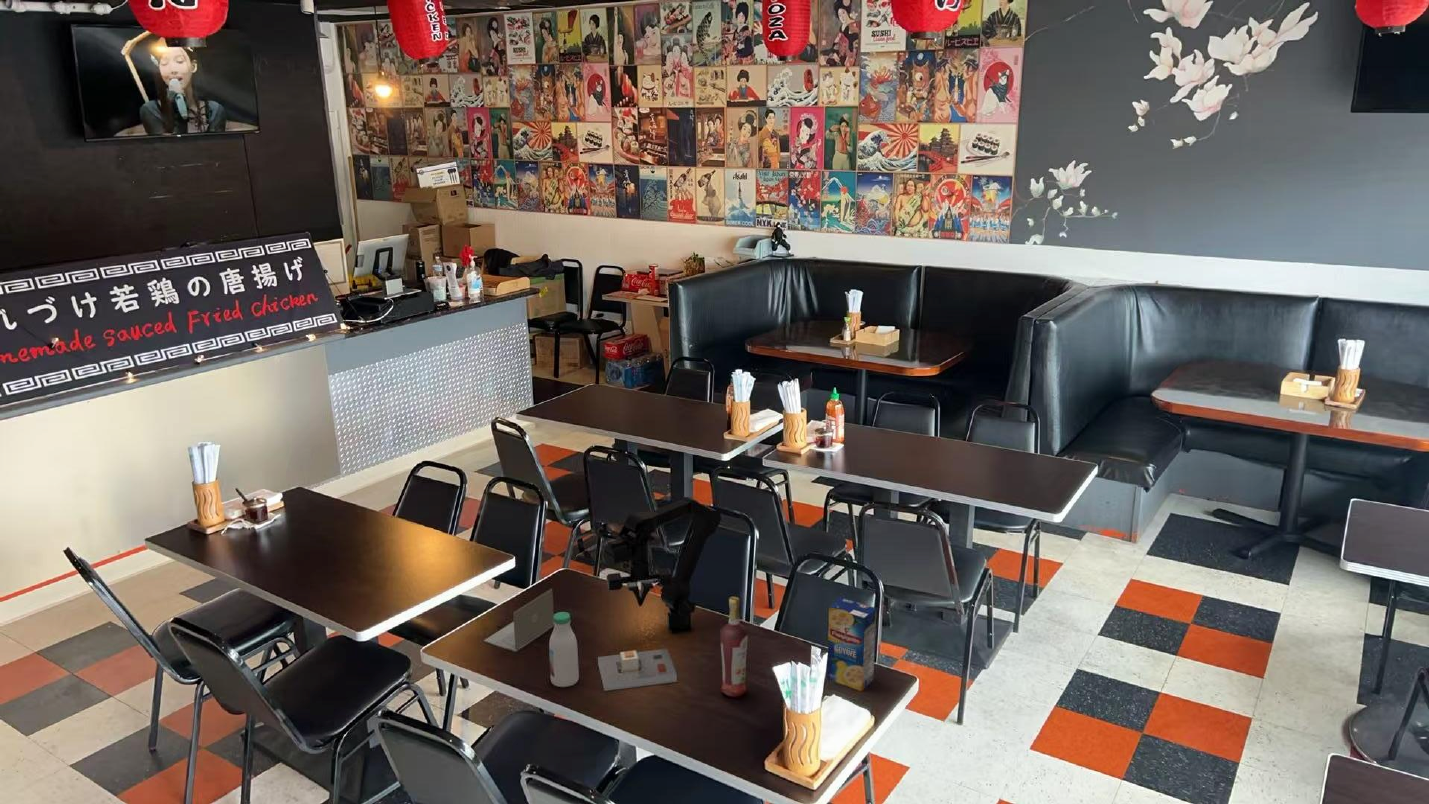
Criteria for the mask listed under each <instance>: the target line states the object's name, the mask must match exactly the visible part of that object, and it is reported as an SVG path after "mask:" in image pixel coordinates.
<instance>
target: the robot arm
mask: <svg viewBox="0 0 1429 804" xmlns="http://www.w3.org/2000/svg"><path fill="white" fill-rule="evenodd" d="M687 515H692V517H691V520H690V521H691V523H690V524H691V534H690V537H689V538H688V542H687V544H686V547H685V549H684V551H683V554H682V557H681V559H680V561H679V564H678V566H677V568H676V571H675V573H674V575H673V574H672V572H671V570H670V568H668V567H665V568H664V567H663V568H656V570H655V571H656V572H655V573H650V548H649V546H650V544H649V542H651V541H655V540H656V537H655V536H653V535H652V534H654V533H655V532H656V530H657V529H658V528H659V527H660V526H663V525H665V524H668V523H670V522H673V521H676V520H678V519H679V518H682V517H685V516H687ZM721 521H722V516H721V513H720V512H719V511H718V510H717V509H714V508H712V507H710V506H708V505H706V504H701V503H700V502H698V501H697V500H696V499H694V498H691V497H690V496H684V497H682V498H681V499H680V500H677V501H674V502H672V503H670V504H667V505H664V506H662V507H659V508H656V509H654V510H651V511H638V512H633V513H631V514H629V515H628V516H627V518H626V520H625V522H624V524H623V526H622V527H621V529H620V532H619V533H618V535H617V538H618V539H617V540H613V541H609V542H607V546H606V547H604V551H603V558H604V561H605V562H606V564H607V565H608V566H609V567H614V566H616V565H621V568H622V569H627V573H628V574H629V575H627V576H622V575H621V573H620V572H615V573H608V574H607V575H606V584H607V588H608V591H620V590H621V589H622V588H623V586H624V585H623V584H626V586H627V589H628V591H629V592H631V591H632V593H633V595H634V597H635V599H636V601H637V604H638V607H641V606H642V607H643V604H644V602H645V600H646V597H647V595H648V593H649V592H650V591H651V590H652V589H654V584H653V582H654V581H659V583H660V584H661V585H662V587H661V589H660V599H661V602H662V603H664V605H665V607H667V608H668V612H667V613H666V615H667V616H666V619H667V623H666V624H667V627H668V629H669V630H670V633H672V634H676V633H678V634H679V633H685V632H687V633H688V632H693V627H692V614H693V613H694V612H695V610H696V604H694V603H693V602H692V601H690V596H691V583H690V582H691V580H692V577H693V575H694V572H695V570H696V567H697V564H698V562H699V560H700V557H701V555H702V552H703V550H704V547H705V545H706V543H707V540H708V538H709V537H711V536H712V535H713V534H715V533H716V531H717V529H718V528H719V525H720V523H721ZM629 533H630V534H632V535H634V536H632V535H630V534H629ZM638 583H640V588H639V585H638Z"/></svg>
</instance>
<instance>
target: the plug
mask: <svg viewBox="0 0 1429 804" xmlns="http://www.w3.org/2000/svg"><path fill="white" fill-rule="evenodd" d="M636 652H637V650H628V651H620V653H619V655H620V661H621V670H620V673H625V672H633V671H640V670H639V668H640V667H638V656H637V653H636Z"/></svg>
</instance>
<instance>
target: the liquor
mask: <svg viewBox="0 0 1429 804" xmlns="http://www.w3.org/2000/svg"><path fill="white" fill-rule="evenodd" d="M728 605H729V606H728V607H729V615H728V616H729V617H728V623H726V624H724V625H723V626H721V627H720V630H719V631H720V651H721V652H720V653H721V668H722V669H721V670H722V671H721V672H722V685H721V687H720V688H721V689H720V690H721V692H723V694H725V695H726V696H728V697H730V698H739V697H741V696H742V695H743V694H744V693H746V692H747V689H748V688H747V686H746V664H747V663H746V662H747V652H748V636H749V635H748V633H749V632H748V631H749V629H748V627H747V626H745V625H743V624H742V623H741V622H740V613H739V607H740V598H739V597H738V596H730V597H729V598H728Z"/></svg>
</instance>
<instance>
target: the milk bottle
mask: <svg viewBox="0 0 1429 804" xmlns="http://www.w3.org/2000/svg"><path fill="white" fill-rule="evenodd" d="M553 621H554V622H553V623H554V626H553V630H552V633H551V635H550V638H549V640H548V641H549V643H548V644H549V645H548V651H549V671H550V672H549V673H550V681H551V684H552V685H554V686H555V687H558V688H559V687H560V688H567V687H572V686H574V685H575V684H577V682H579V678H580V674H579V656H578V655H579V654H578V641H577V638H576V635H575V633H574V631H573V629H572V627H571V614H570V613H569V612H566V611H560V612H556V613H554V616H553Z"/></svg>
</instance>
